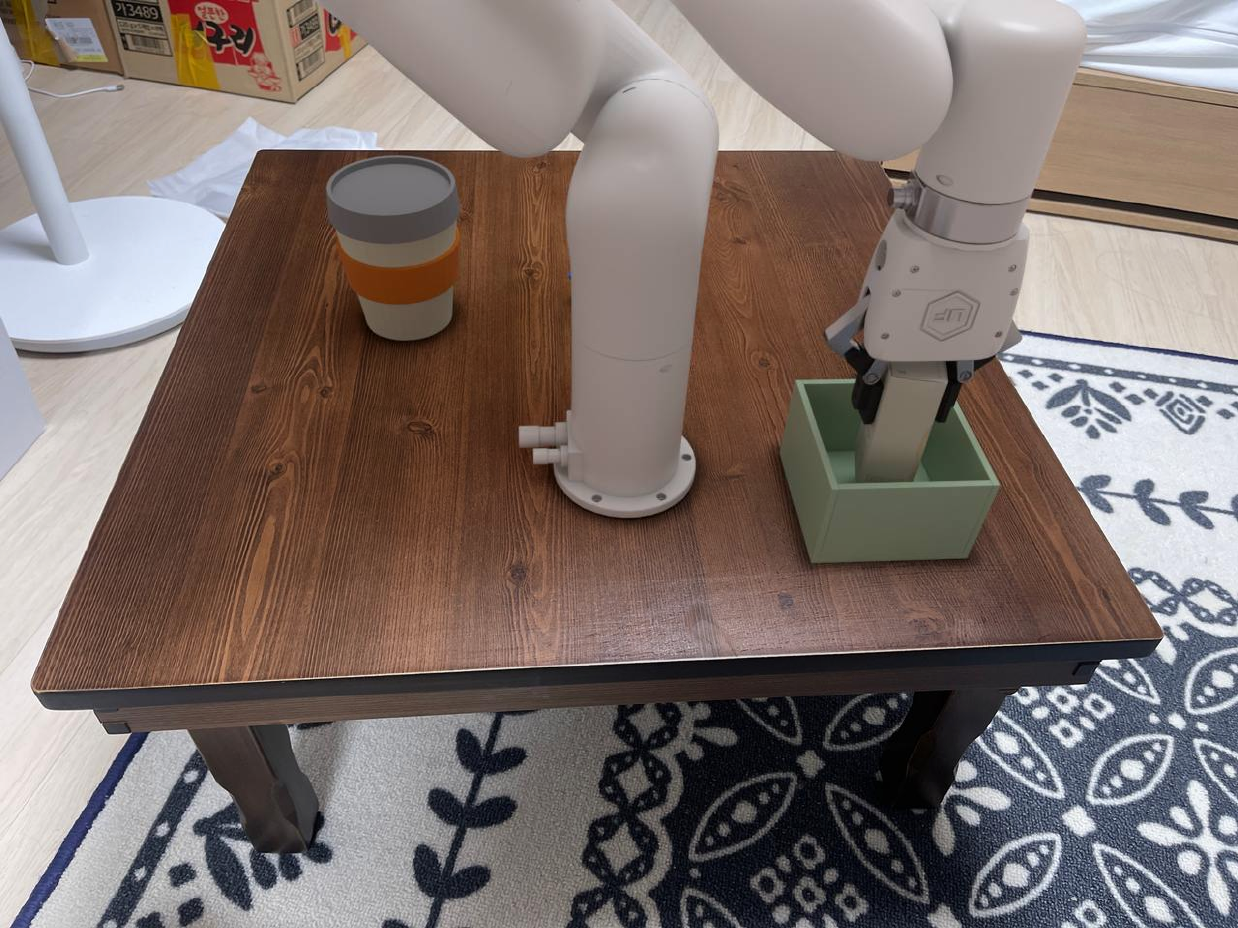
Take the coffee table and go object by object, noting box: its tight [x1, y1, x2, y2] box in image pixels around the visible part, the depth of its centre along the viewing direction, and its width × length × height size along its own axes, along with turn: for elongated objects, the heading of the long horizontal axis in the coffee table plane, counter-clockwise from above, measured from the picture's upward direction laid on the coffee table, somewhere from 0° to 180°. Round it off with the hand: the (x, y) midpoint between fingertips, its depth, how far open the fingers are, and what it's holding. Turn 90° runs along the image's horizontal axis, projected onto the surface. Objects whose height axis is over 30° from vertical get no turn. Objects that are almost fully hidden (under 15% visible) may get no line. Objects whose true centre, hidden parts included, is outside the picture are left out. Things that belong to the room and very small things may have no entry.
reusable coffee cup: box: [325, 154, 461, 342], centre depth 94 cm, size 13×13×15 cm
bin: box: [779, 378, 1001, 564], centre depth 78 cm, size 13×13×9 cm
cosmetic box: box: [855, 361, 948, 483], centre depth 75 cm, size 6×4×12 cm
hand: (899, 410), depth 74 cm, fingers closed on cosmetic box, 5 cm apart
